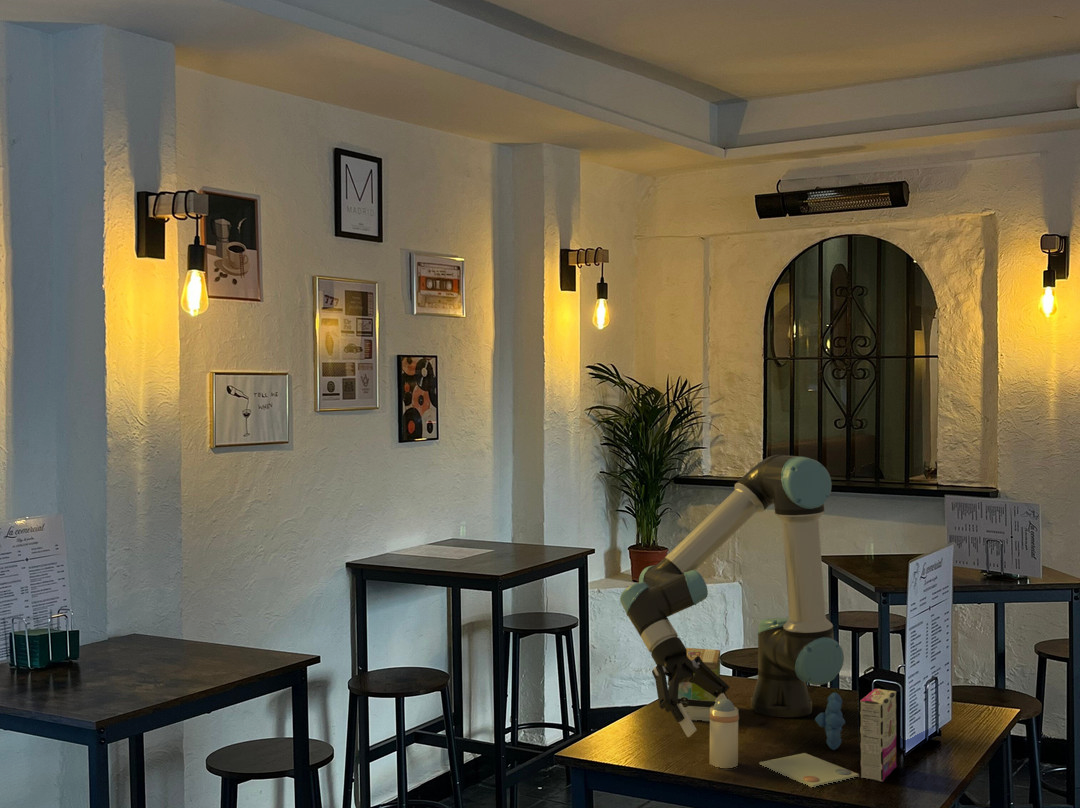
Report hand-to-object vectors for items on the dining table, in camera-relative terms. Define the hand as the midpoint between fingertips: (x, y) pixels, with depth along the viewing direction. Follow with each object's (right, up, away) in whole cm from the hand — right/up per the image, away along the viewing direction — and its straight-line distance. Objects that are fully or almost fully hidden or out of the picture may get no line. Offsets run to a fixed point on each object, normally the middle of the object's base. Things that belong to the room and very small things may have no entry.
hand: (713, 727), depth 242 cm
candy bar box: (+34, -8, -5) cm, 35 cm away
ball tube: (+2, -8, -1) cm, 8 cm away
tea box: (+2, -8, +39) cm, 40 cm away
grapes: (+28, -8, +12) cm, 32 cm away
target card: (+19, -8, -4) cm, 21 cm away
